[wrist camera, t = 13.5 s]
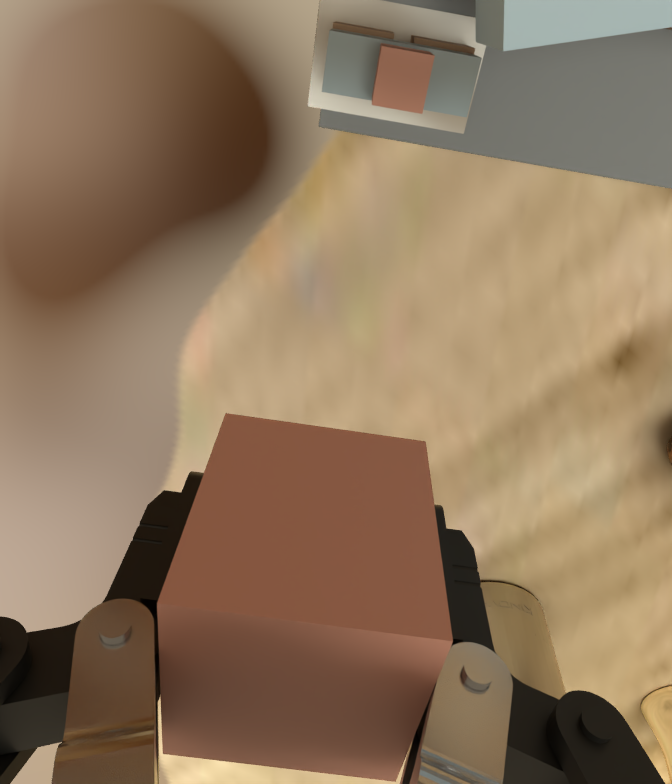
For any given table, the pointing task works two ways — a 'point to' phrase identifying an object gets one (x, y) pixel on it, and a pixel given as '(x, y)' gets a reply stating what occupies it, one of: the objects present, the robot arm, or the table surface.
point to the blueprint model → (395, 63)
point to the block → (670, 450)
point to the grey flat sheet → (558, 106)
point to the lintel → (564, 20)
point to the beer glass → (660, 720)
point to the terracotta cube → (304, 602)
